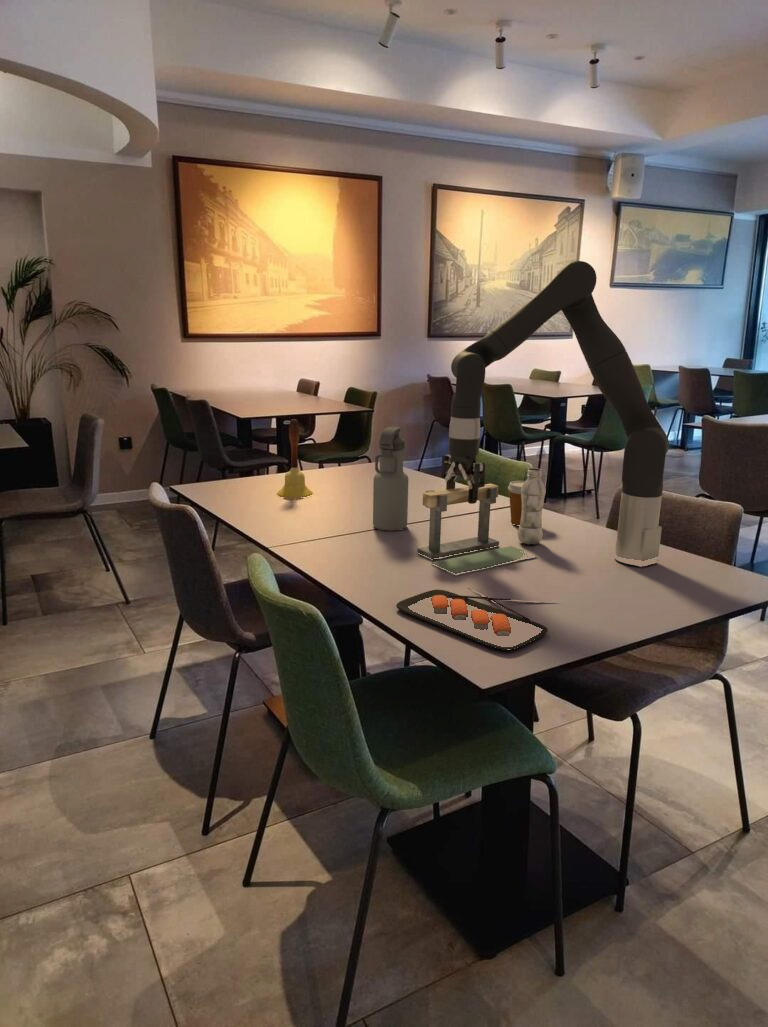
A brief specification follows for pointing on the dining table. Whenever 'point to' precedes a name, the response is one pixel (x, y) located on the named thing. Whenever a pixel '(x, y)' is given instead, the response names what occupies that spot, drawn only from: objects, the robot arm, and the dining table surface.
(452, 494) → the beech rail
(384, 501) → the water bottle
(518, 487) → the disposable coffee cup
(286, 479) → the handbell
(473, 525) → the dining table surface
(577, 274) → the robot arm
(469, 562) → the rubber mat
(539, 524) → the plastic bottle
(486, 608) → the sushi plate
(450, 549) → the rail stand
